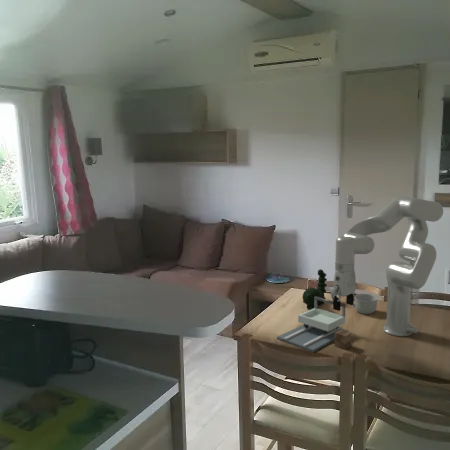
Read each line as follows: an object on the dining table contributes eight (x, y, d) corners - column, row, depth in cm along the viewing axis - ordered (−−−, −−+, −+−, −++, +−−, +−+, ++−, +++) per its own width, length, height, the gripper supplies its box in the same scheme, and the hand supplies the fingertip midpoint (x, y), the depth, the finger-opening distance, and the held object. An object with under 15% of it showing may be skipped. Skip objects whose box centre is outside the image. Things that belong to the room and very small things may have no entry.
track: (349, 332, 212) (349, 329, 212) (313, 352, 194) (313, 348, 193) (313, 321, 226) (313, 318, 225) (277, 339, 207) (277, 335, 207)
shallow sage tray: (345, 328, 212) (345, 303, 210) (328, 337, 203) (328, 311, 201) (315, 319, 224) (315, 295, 222) (298, 327, 215) (298, 303, 213)
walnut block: (351, 346, 199) (351, 332, 198) (344, 349, 196) (345, 336, 194) (341, 342, 203) (341, 329, 201) (334, 346, 199) (334, 332, 198)
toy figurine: (313, 301, 259) (297, 311, 238) (315, 266, 258) (298, 274, 236) (330, 303, 255) (315, 314, 233) (332, 268, 253) (317, 276, 231)
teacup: (379, 310, 238) (379, 295, 237) (373, 317, 229) (373, 301, 228) (351, 306, 246) (352, 291, 244) (345, 312, 237) (345, 297, 235)
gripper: (340, 272, 184) (339, 314, 187) (364, 264, 196) (362, 304, 199) (324, 269, 190) (323, 310, 193) (348, 261, 201) (346, 300, 204)
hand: (343, 307), depth 196 cm, fingers open, 9 cm apart
